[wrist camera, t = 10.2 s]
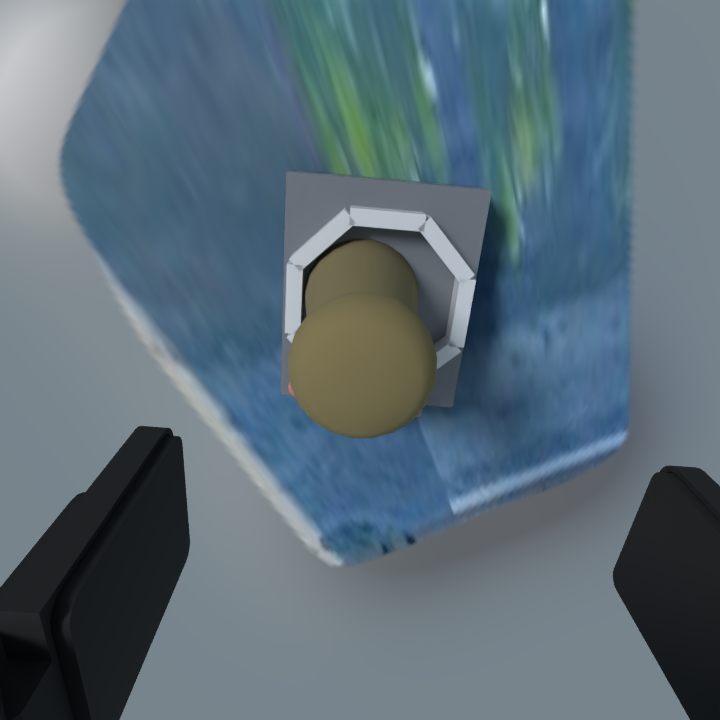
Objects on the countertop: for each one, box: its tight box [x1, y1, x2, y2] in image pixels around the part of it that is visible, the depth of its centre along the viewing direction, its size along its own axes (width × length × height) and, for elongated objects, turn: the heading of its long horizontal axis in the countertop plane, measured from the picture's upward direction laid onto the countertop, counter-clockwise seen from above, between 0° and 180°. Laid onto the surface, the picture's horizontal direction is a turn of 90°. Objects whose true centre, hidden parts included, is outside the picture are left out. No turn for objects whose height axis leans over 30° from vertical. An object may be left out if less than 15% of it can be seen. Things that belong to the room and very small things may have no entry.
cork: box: [288, 239, 437, 438], centre depth 20 cm, size 6×6×11 cm
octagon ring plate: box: [281, 170, 492, 418], centre depth 26 cm, size 12×10×4 cm
